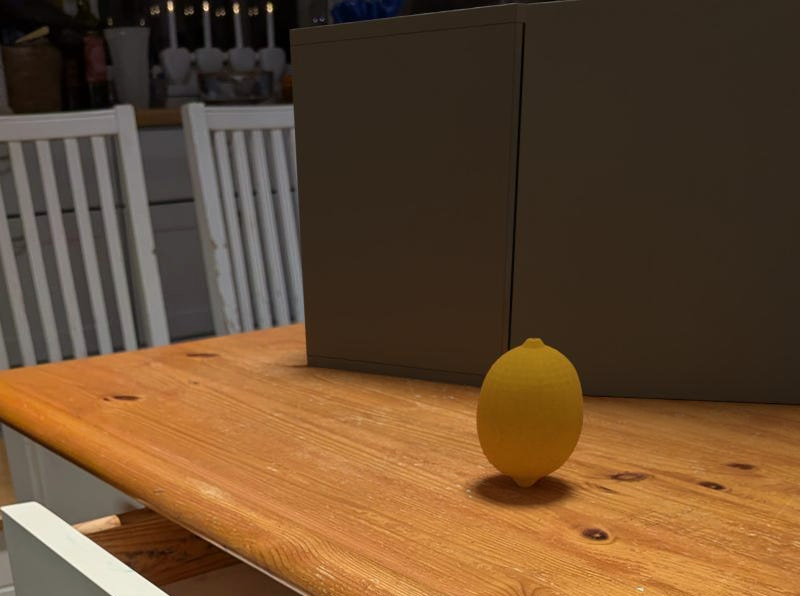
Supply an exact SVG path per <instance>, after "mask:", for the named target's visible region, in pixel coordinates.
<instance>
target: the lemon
mask: <svg viewBox="0 0 800 596" xmlns="http://www.w3.org/2000/svg"><path fill="white" fill-rule="evenodd" d="M478 395H479V396H478V400H477V406H476V420H475V421H476V432H477V437H478V441H479V444H480V449H481V450H482V453H483V455H484V457H485V458H486V460H487V461H488V462H489V463H490V464H491V466H492V467H493V468H495V470H496V471H498V472H500V473H501V474H503V475H505V476H508V477H510V478H512V480H513V481H514V482H515V483H516V484H517V485H518V487H520V488H525V489H526V488H530V487H532V486H533V485H534V484H535V483H537V481H539V480H540V479H541V478H543V477H546V476H549V475H551V474H552V473H554V472H556V471H558V470H559V469H561V467H563V466H564V464H565V463H566V462H567V461H568V460H569V458H570V457H571V456H572V454H573V453H574V451H575V450H576V447H577V445H578V443H579V440H580V438H581V433H582V429H583V423H584V413H585V412H584V411H585V410H584V409H585V408H584V397H583V396H584V395H582V390H581V385H580V381H579V377H578V375H577V372H576V370H575V368H574V366H573V365H572V364H571V362H570V361H569V360H568V359H567V358H566V357H565V356H564V355H563V354H561V353H560V352H558V351H557V350H555V349H553V348H551V347H549V346H546V345H545V344H544V343H543V342H542V340H541V339H538V338H530V339H527V340H526V341H525V342H524V344H523V345H521V346H519V347H516V348H514V349H512V350H510V351H508V352H507V353H505V354H504V355H502V356H501V357H500V358H499V359H498V360H497V361H496V362H495V363H494V364H493V365H492V367H491V368H490V370H489V372H488V373H487V375H486V377H485V379H484V382H483V385H482V388H480V391H479V394H478Z"/></svg>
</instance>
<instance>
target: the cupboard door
mask: <svg viewBox="0 0 800 596" xmlns="http://www.w3.org/2000/svg"><path fill="white" fill-rule="evenodd" d="M526 4H527V5H526V26H525V47H524V68H523V89H522V110H521V131H520V152H519V173H518V194H517V215H516V236H515V257H514V278H513V299H512V320H511V341H510V350H512V349H514V348H516V347H519V346H521V345H523V344H524V342H525V341H526V340H527V339H530V338H538V339H541V340H542V342H543V343H544V344H545V345H546V346H549V347H551V348H553V349H555V350H557V351H558V352H560V353H561V354H563V355H564V356H565V357H566V358H567V359H568V360H569V361H570V362H571V364H572V365H573V366H574V368H575V370H576V372H577V375H578V377H579V381H580V385H581V390H582V396H590V397H591V396H592V397H593V396H594V397H595V396H596V397H614V398H615V397H616V398H617V397H618V398H639V399H664V400H684V401H685V400H686V401H690V400H691V401H710V402H711V401H712V402H732V403H733V402H734V403H754V404H755V403H759V404H780V405H781V404H782V405H800V0H557V1H545V2H543V1H541V2H531V3H526Z"/></svg>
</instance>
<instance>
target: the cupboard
mask: <svg viewBox="0 0 800 596" xmlns="http://www.w3.org/2000/svg"><path fill="white" fill-rule="evenodd" d="M527 4H528V3H521V2H513V3H505V4H496V5H487V6H477V7H472V8H471V7H469V8H462V9H453V10H445V11H436V12H429V13H428V12H427V13H419V14H412V15H403V16H393V17H385V18H376V19H369V20H368V19H367V20H359V21H351V22H342V23H334V24H326V25H317V26H316V25H315V26H308V27H301V28H299V27H298V28H293V29H292V28H291V29H289V46H290V48H289V49H290V50H289V51H290V68H291V69H290V70H291V86H292V106H293V107H292V108H293V125H294V126H293V127H294V145H295V160H296V161H295V162H296V164H295V165H296V182H297V184H296V185H297V200H298V201H297V202H298V219H299V238H300V256H301V257H300V259H301V274H302V275H301V277H302V294H303V295H302V296H303V313H304V314H303V317H304V332H305V333H304V334H305V351H306V366H307V367H313V368H322V369H329V370H337V371H344V372H353V373H361V374H368V375H376V376H386V377H393V378H399V379H408V380H416V381H423V382H431V383H438V384H439V383H440V384H446V385H447V384H449V385H457V386H464V387H472V388H480V389H481V388H482V385H483V382H484V379H485V377H486V375H487V373H488V372H489V370H490V368H491V367H492V365H493V364H494V363H495V362H496V361H497V360H498V359H499V358H500V357H501V356H502V355H504V354H505V353H507V352H508V351H510V341H511V320H512V299H513V278H514V257H515V236H516V215H517V194H518V173H519V152H520V131H521V110H522V89H523V68H524V47H525V26H526V5H527Z"/></svg>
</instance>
